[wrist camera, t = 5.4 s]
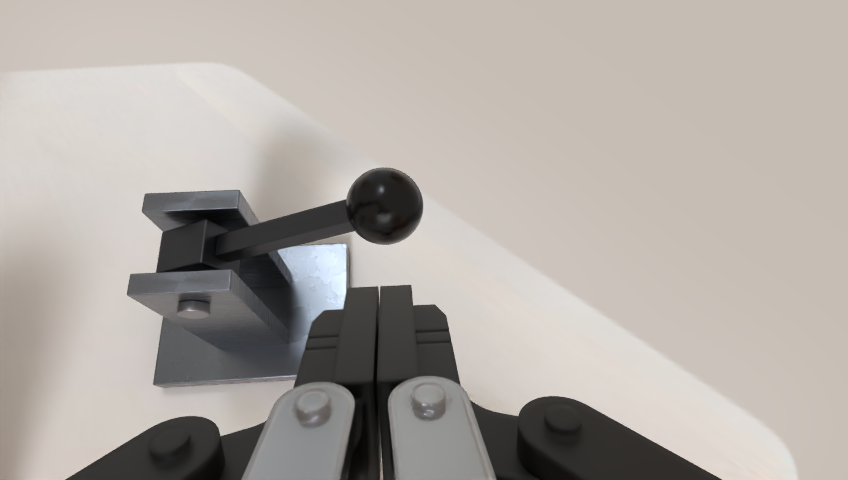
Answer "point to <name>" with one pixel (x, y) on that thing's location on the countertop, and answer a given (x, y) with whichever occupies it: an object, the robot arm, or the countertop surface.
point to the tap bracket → (236, 299)
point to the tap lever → (301, 226)
